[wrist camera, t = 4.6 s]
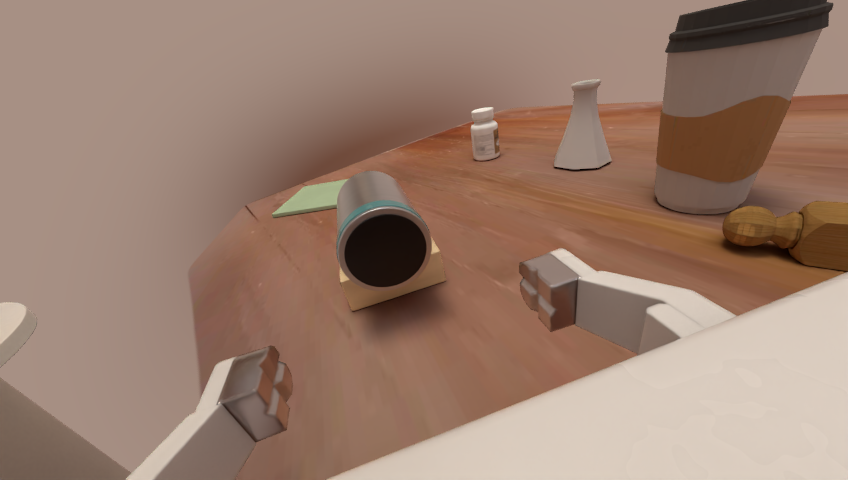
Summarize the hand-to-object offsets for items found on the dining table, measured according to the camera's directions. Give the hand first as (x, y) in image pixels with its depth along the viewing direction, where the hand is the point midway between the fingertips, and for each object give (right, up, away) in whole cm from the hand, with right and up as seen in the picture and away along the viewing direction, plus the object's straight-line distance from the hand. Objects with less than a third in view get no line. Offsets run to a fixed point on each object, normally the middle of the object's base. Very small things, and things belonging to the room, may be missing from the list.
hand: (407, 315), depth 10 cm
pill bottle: (+11, +17, +43) cm, 47 cm away
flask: (+22, +13, +32) cm, 41 cm away
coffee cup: (+26, +6, +19) cm, 32 cm away
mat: (-17, +10, +42) cm, 46 cm away
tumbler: (-2, +1, +15) cm, 15 cm away
